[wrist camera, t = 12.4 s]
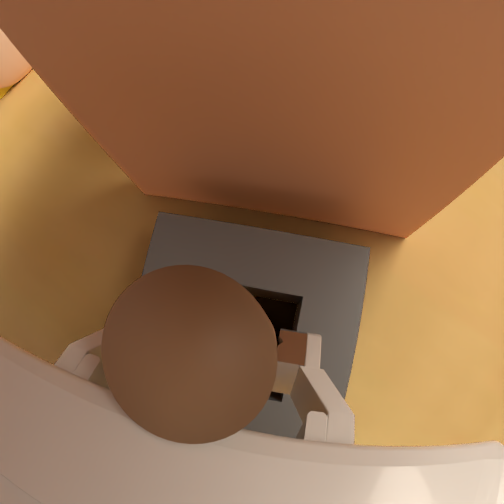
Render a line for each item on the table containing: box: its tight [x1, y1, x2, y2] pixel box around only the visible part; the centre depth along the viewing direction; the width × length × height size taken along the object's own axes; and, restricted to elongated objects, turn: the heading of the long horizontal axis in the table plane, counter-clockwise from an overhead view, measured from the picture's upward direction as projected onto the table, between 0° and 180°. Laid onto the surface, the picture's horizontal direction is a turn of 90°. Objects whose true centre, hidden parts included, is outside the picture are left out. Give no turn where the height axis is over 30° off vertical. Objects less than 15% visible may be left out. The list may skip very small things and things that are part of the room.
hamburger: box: [0, 29, 32, 99], centre depth 25 cm, size 12×8×12 cm
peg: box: [101, 265, 277, 444], centre depth 12 cm, size 4×4×12 cm
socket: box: [142, 212, 370, 438], centre depth 18 cm, size 12×12×5 cm
